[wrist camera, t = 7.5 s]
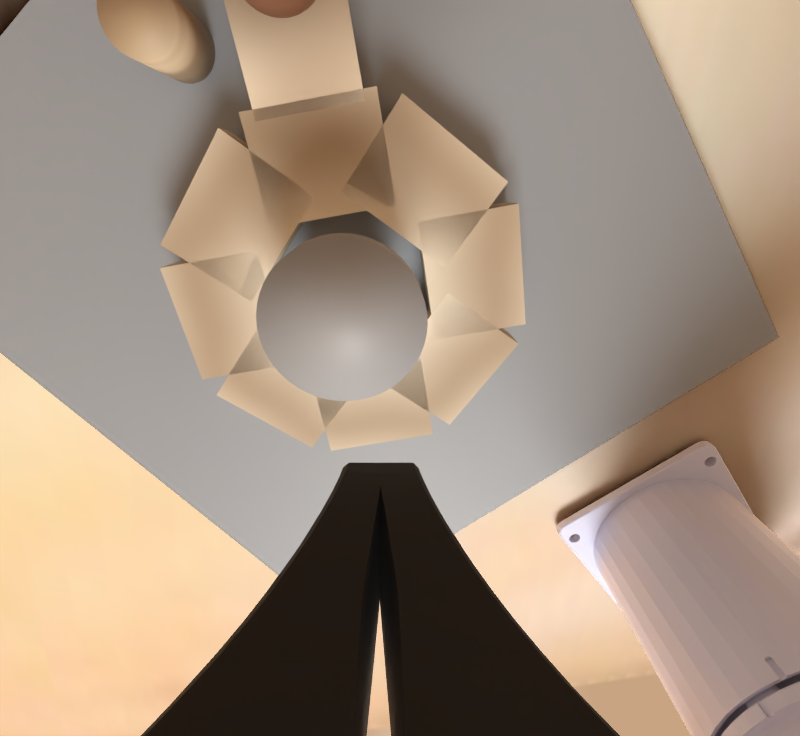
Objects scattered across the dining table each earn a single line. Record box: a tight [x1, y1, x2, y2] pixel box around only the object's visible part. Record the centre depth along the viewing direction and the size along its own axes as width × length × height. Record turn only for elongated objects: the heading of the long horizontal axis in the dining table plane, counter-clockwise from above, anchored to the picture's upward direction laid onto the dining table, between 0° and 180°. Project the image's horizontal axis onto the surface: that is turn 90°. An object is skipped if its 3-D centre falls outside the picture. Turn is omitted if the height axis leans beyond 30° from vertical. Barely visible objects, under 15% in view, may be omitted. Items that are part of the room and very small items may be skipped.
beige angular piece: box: [160, 0, 526, 451], centre depth 12 cm, size 17×12×6 cm
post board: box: [0, 0, 779, 575], centre depth 14 cm, size 24×24×5 cm
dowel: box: [96, 0, 215, 84], centre depth 12 cm, size 2×2×3 cm
